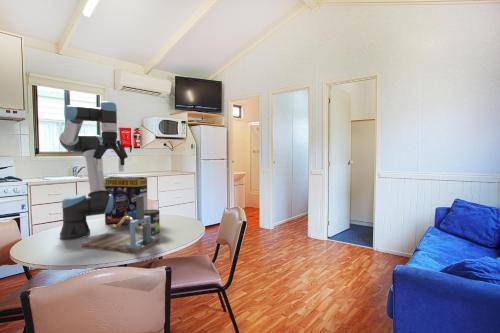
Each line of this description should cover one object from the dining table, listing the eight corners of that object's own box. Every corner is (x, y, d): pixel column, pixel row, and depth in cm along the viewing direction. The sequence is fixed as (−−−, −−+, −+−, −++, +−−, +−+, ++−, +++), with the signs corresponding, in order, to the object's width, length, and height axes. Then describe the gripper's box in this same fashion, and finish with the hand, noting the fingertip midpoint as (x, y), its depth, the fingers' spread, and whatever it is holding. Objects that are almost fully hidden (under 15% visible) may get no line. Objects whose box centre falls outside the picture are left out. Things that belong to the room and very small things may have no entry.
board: (81, 247, 147) (81, 244, 147) (107, 236, 164) (107, 234, 164) (137, 253, 138) (137, 250, 137) (158, 241, 155) (158, 238, 155)
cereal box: (148, 221, 198) (148, 176, 198) (139, 225, 187) (139, 177, 187) (114, 220, 203) (113, 176, 202) (103, 224, 192) (102, 177, 191)
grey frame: (124, 247, 141) (123, 197, 140) (143, 238, 156) (142, 193, 154) (138, 249, 139) (137, 198, 137) (156, 239, 153) (155, 193, 152)
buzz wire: (108, 241, 151) (107, 215, 150) (112, 239, 154) (111, 214, 153) (147, 245, 145) (146, 218, 144) (150, 243, 148) (149, 217, 147)
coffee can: (163, 232, 172) (162, 209, 171) (154, 237, 162) (153, 213, 161) (147, 231, 174) (147, 209, 173) (137, 236, 164) (137, 212, 163)
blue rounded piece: (146, 227, 183) (145, 209, 182) (139, 230, 176) (138, 211, 176) (130, 226, 186) (130, 208, 185) (123, 229, 179) (123, 210, 179)
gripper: (84, 131, 151) (86, 171, 152) (124, 130, 144) (125, 172, 145) (95, 132, 158) (97, 170, 159) (134, 131, 151) (135, 171, 152)
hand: (110, 171), depth 152 cm, fingers open, 13 cm apart
